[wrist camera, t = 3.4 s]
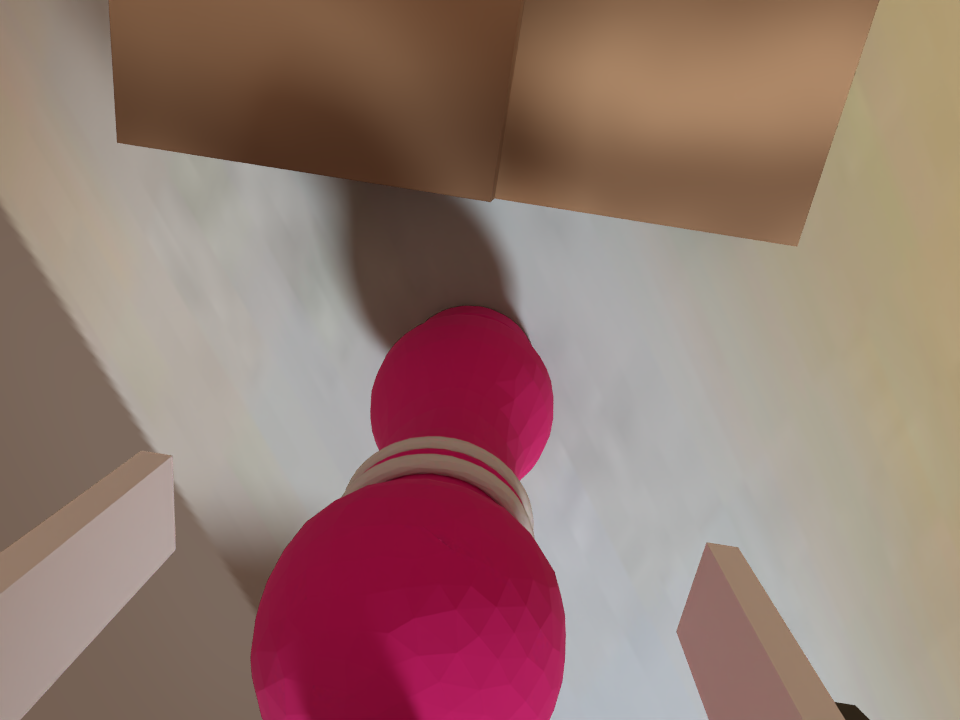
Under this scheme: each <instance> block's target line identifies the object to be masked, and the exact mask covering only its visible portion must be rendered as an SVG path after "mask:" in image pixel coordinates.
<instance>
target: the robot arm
mask: <svg viewBox="0 0 960 720" xmlns="http://www.w3.org/2000/svg"><path fill="white" fill-rule="evenodd" d="M175 550H176V541H175V514H174V484H173V457H172V456H171V455H165V454H159V453H153V452H147V451H140V452H139V453H137V454H136V455H135V456H133V457H132V458H131V459H129V460H128V461H126V462H125V463H124V464H122V465H121V466H119V467H118V468H117V469H115V470H114V471H112V472H111V473H110V474H108V475H107V476H106V477H104V478H103V479H101V480H100V481H99V482H97V483H96V484H95V485H93V486H92V487H90V488H89V489H88V490H87V491H85V492H83V493H82V494H81V495H79V496H78V497H77V498H75V499H74V500H72V501H71V502H70V503H68V504H67V505H65V506H64V507H63V508H61V509H60V510H59V511H57V512H56V513H55V514H53V515H52V516H50V517H49V518H48V519H46V520H45V521H43V522H42V523H41V524H39V525H38V526H36V527H35V528H34V529H32V530H31V531H29V532H28V533H27V534H26V535H24V536H23V537H21V538H20V539H19V540H17V541H16V542H14V543H13V544H12V545H10V546H9V547H7V548H6V549H5V550H3V551H2V552H0V720H20V719H21V718H22V717H23V716H24V715H25V714H26V713H27V712H28V711H29V710H30V708H31V707H32V706H33V705H34V704H35V703H36V702H37V701H38V700H39V699H40V697H41V696H42V695H43V694H44V693H45V692H46V691H47V690H48V689H49V688H50V687H51V685H52V684H53V683H54V682H55V681H56V680H57V679H58V678H59V677H60V675H61V674H62V673H63V672H64V671H65V670H66V669H67V668H68V667H69V666H70V665H71V664H72V663H73V661H74V660H75V659H76V658H77V657H78V656H79V655H80V654H81V653H82V652H83V651H84V649H85V648H86V647H87V646H88V645H89V644H90V643H91V642H92V641H93V640H94V638H95V637H96V636H97V635H98V634H99V633H100V632H101V631H102V630H103V629H104V628H105V626H106V625H107V624H108V623H109V622H110V621H111V620H112V619H113V618H114V617H115V616H116V615H117V613H118V612H119V611H120V610H121V609H122V608H123V607H124V606H125V605H126V603H128V601H129V600H130V599H131V598H132V597H133V596H134V595H135V594H136V593H137V591H138V590H139V589H140V588H141V587H142V586H143V585H144V584H145V583H146V582H147V581H148V580H149V578H150V577H151V576H152V575H153V574H154V573H155V572H156V571H157V570H158V569H159V568H160V566H161V565H162V564H163V563H164V562H165V561H166V560H167V559H168V558H169V556H171V554H172V553H173V552H174V551H175ZM676 632H677V634H678V637H679V640H680V643H681V645H682V648H683V651H684V654H685V656H686V659H687V662H688V664H689V667H690V670H691V673H692V675H693V678H694V681H695V683H696V686H697V689H698V692H699V694H700V697H701V700H702V702H703V705H704V708H705V711H706V713H707V716H708V719H709V720H870V719H868V718H867V717H866V716H865V715H864V714H863V713H862V712H861V711H860V710H859V709H858V708H857V707H856V706H855V705H850V704H843V703H837V702H834V701H833V699H832V698H831V696H830V694H829V693H828V691H827V690H826V688H825V686H824V685H823V683H822V682H821V680H820V678H819V677H818V675H817V673H816V672H815V670H814V669H813V667H812V665H811V664H810V662H809V661H808V659H807V657H806V656H805V654H804V653H803V651H802V649H801V648H800V646H799V645H798V643H797V641H796V640H795V638H794V637H793V635H792V633H791V632H790V630H789V628H788V627H787V625H786V624H785V622H784V620H783V619H782V617H781V616H780V614H779V612H778V611H777V609H776V608H775V606H774V604H773V603H772V601H771V600H770V598H769V596H768V595H767V593H766V592H765V590H764V588H763V587H762V585H761V583H760V582H759V580H758V579H757V577H756V575H755V574H754V572H753V571H752V569H751V567H750V566H749V564H748V563H747V561H746V559H745V558H744V556H743V555H742V553H741V551H740V550H739V548H738V547H732V546H726V545H720V544H713V543H706V546H705V549H704V552H703V555H702V557H701V560H700V563H699V566H698V569H697V572H696V575H695V578H694V581H693V584H692V587H691V590H690V593H689V596H688V599H687V602H686V605H685V608H684V610H683V613H682V616H681V619H680V622H679V625H678V628H677V631H676Z"/></svg>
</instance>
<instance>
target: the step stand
mask: <svg viewBox="0 0 960 720" xmlns="http://www.w3.org/2000/svg"><path fill="white" fill-rule="evenodd" d="M878 3H879V0H109V17H110V33H111V50H112V66H113V83H114V99H115V116H116V132H117V143H123V144H129V145H135V146H142V147H148V148H154V149H161V150H167V151H173V152H179V153H186V154H192V155H198V156H205V157H211V158H217V159H223V160H230V161H236V162H242V163H248V164H255V165H261V166H267V167H274V168H280V169H286V170H292V171H299V172H305V173H311V174H318V175H324V176H330V177H336V178H343V179H349V180H355V181H362V182H368V183H374V184H380V185H387V186H393V187H399V188H406V189H412V190H418V191H424V192H431V193H437V194H443V195H450V196H456V197H462V198H468V199H475V200H481V201H487V202H491V201H492V200H493V199H494V198H496V199H502V200H508V201H514V202H521V203H527V204H533V205H540V206H546V207H552V208H558V209H565V210H571V211H577V212H584V213H590V214H596V215H602V216H609V217H615V218H621V219H628V220H634V221H640V222H646V223H653V224H659V225H665V226H672V227H678V228H684V229H690V230H697V231H703V232H709V233H716V234H722V235H728V236H734V237H741V238H747V239H753V240H760V241H766V242H772V243H778V244H785V245H791V246H797V245H798V242H799V239H800V236H801V233H802V230H803V227H804V225H805V222H806V219H807V216H808V213H809V210H810V207H811V204H812V201H813V198H814V195H815V192H816V189H817V186H818V183H819V180H820V177H821V174H822V171H823V168H824V165H825V162H826V159H827V156H828V153H829V150H830V147H831V144H832V141H833V138H834V135H835V132H836V129H837V126H838V123H839V120H840V117H841V114H842V111H843V108H844V105H845V102H846V99H847V96H848V93H849V90H850V87H851V84H852V81H853V78H854V75H855V72H856V69H857V66H858V63H859V60H860V57H861V54H862V51H863V48H864V45H865V42H866V39H867V36H868V33H869V30H870V27H871V24H872V21H873V18H874V15H875V12H876V9H877V6H878Z"/></svg>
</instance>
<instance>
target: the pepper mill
mask: <svg viewBox="0 0 960 720" xmlns="http://www.w3.org/2000/svg"><path fill="white" fill-rule="evenodd" d="M370 413H371V425H372V432H373V435H374V438H375V442H376V444H377V447H378V449H379V451H378V452H376V453H375V454H373V455H372V456H371V457H370V458H369V459H367V460H366V461H365V462H364V463H363V464H362V465H361V466H360V467H359V468H358V469H357V471H356V472H355V474H354V475H353V477H352V478H351V480H350V482H349V484H348V486H347V488H346V491H345V493H344V494H343V496H342V497H341V498H340V499H337V500H335V501H334V502H333V503H331V504H330V505H329V506H327V507H326V508H324V509H323V510H322V511H320V512H319V513H318V514H316V515H315V516H314V517H312V518H311V519H310V520H308V521H307V522H306V523H305V524H304V525H303V527H302V528H301V529H300V530H299V532H298V533H297V534H296V535H295V537H294V538H293V539H292V541H291V542H290V543H289V544H288V546H287V547H286V548H285V549H284V551H283V553H282V555H281V557H280V558H279V560H278V562H277V564H276V566H275V568H274V570H273V571H272V573H271V575H270V577H269V579H268V581H267V583H266V586H265V589H264V592H263V595H262V598H261V601H260V604H259V608H258V612H257V615H256V619H255V627H254V635H253V642H252V649H251V672H252V679H253V684H254V688H255V692H256V696H257V700H258V704H259V708H260V712H261V717H262V719H263V720H549V719H550V717H551V715H552V713H553V711H554V708H555V705H556V701H557V698H558V694H559V691H560V688H561V684H562V680H563V671H564V663H565V640H566V631H565V613H564V608H563V603H562V598H561V594H560V590H559V587H558V583H557V579H556V576H555V572H554V570H553V569H552V567H551V565H550V564H549V562H548V561H547V559H546V557H545V556H544V554H543V552H542V551H541V549H540V548H539V546H538V544H537V543H536V541H535V540H534V532H533V526H534V525H533V514H532V508H531V504H530V500H529V498H528V495H527V493H526V491H525V489H524V488H523V486H522V484H521V482H520V480H521V479H522V478H523V477H524V476H525V475H526V474H527V473H528V472H529V471H530V470H531V469H532V468H533V467H534V465H535V464H536V462H537V461H538V460H539V458H540V455H541V453H542V451H543V449H544V447H545V445H546V443H547V440H548V438H549V436H550V432H551V426H552V421H553V392H552V385H551V380H550V377H549V375H548V372H547V369H546V367H545V365H544V363H543V362H542V360H541V358H540V356H539V355H538V353H537V352H536V351H535V350H534V348H533V347H532V345H531V343H530V341H529V340H528V338H527V337H526V335H525V334H524V332H523V331H522V330H521V329H520V327H519V326H518V325H517V324H516V323H515V322H513V321H512V320H511V319H510V318H508V317H507V316H505V315H503V314H501V313H499V312H496V311H494V310H492V309H489V308H485V307H480V306H459V307H454V308H450V309H447V310H444V311H441V312H440V313H438V314H436V315H434V316H433V317H431V318H430V319H428V320H427V321H426V322H425V323H423V324H421V325H419V326H417V327H415V328H414V329H412V330H411V331H409V332H408V333H406V334H405V335H404V336H403V337H402V338H401V339H400V340H398V341H397V342H396V343H395V344H394V346H393V347H392V348H391V350H390V351H389V352H388V354H387V355H386V357H385V359H384V361H383V363H382V365H381V367H380V369H379V371H378V374H377V376H376V379H375V382H374V385H373V389H372V394H371V410H370Z"/></svg>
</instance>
